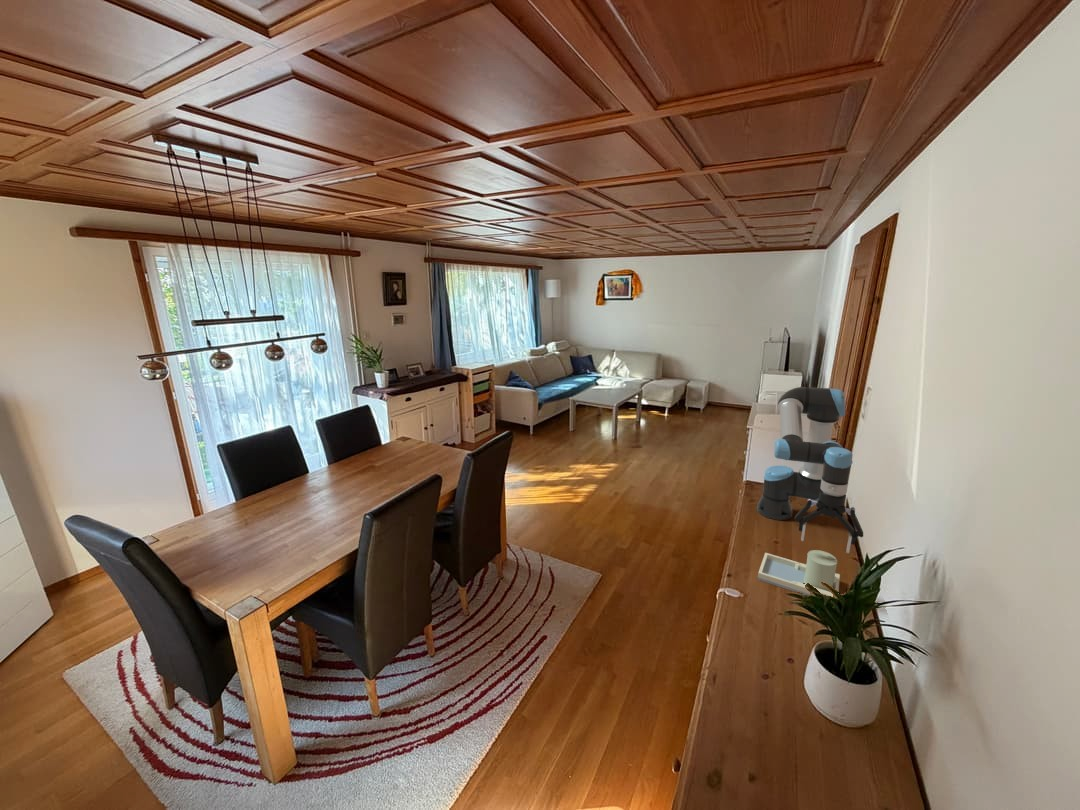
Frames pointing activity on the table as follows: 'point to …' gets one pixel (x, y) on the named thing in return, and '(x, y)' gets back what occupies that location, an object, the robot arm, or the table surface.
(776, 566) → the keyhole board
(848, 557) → the table surface
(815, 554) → the can
